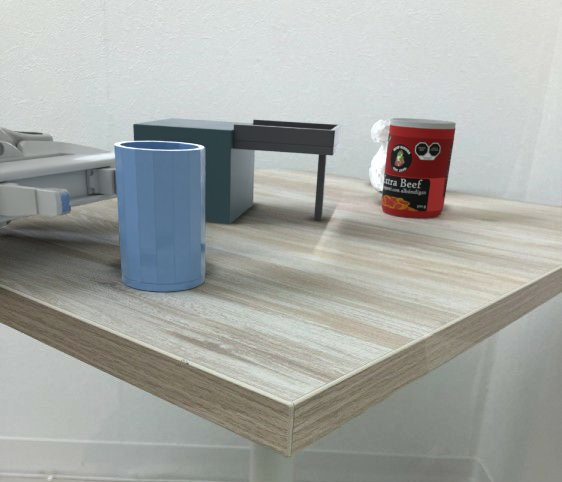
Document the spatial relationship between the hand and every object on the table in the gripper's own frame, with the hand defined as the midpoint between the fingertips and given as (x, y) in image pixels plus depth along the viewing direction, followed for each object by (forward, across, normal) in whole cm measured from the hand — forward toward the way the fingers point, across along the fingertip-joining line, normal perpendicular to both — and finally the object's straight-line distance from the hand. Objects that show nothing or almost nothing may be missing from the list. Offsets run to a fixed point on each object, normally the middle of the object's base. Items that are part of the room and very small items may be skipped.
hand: (106, 195), depth 50 cm
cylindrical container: (+5, 0, +6) cm, 8 cm away
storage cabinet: (0, +24, +6) cm, 24 cm away
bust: (+8, +57, +6) cm, 58 cm away
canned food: (+14, +42, +6) cm, 45 cm away
